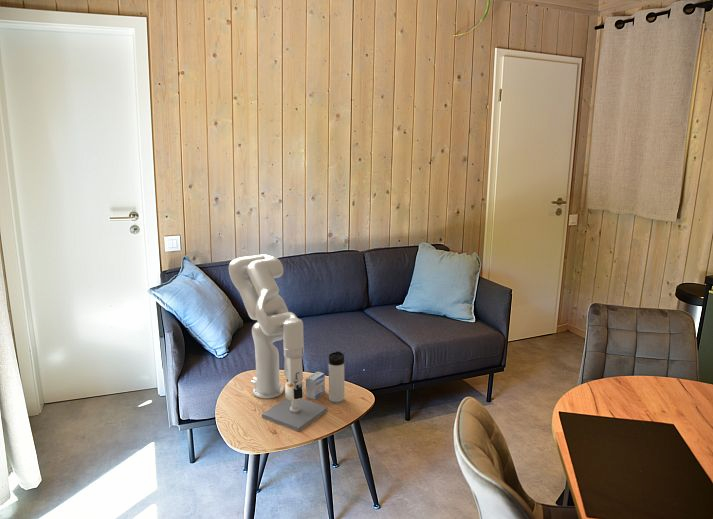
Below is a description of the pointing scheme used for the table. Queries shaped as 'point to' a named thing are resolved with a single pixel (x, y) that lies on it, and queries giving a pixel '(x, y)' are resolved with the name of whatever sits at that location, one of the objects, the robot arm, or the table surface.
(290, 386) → the cap
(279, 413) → the post base
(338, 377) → the travel mug
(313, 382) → the medicine box
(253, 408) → the table surface
